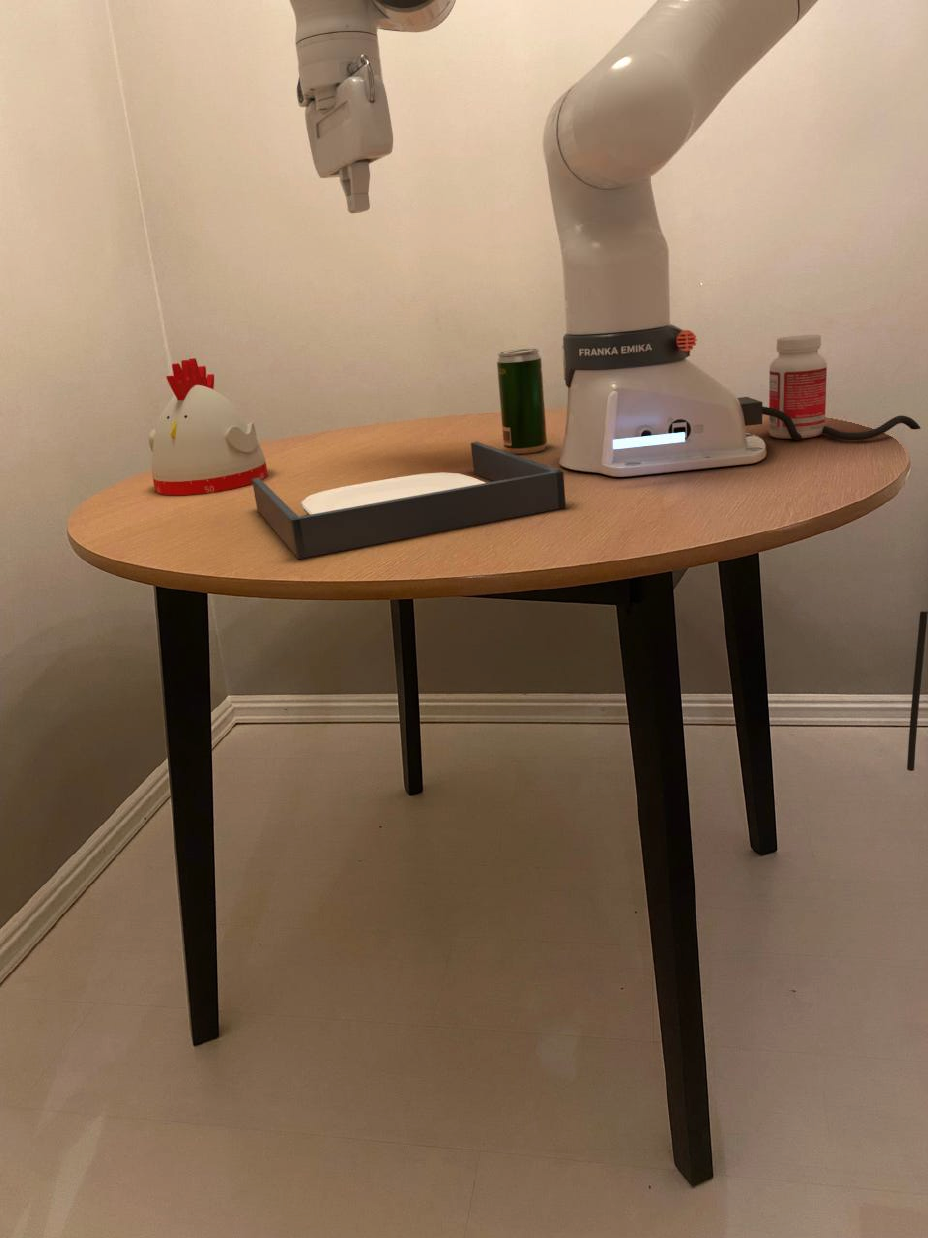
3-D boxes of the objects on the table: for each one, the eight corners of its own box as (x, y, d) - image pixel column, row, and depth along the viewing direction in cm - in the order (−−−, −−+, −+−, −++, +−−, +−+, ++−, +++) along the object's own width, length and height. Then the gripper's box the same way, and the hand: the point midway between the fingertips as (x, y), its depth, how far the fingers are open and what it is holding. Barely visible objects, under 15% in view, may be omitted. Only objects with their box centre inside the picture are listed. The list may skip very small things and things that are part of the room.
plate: (292, 510, 98) (290, 494, 98) (453, 482, 104) (451, 466, 103) (334, 549, 82) (331, 530, 82) (521, 513, 88) (520, 495, 87)
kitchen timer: (131, 495, 114) (103, 369, 109) (198, 470, 126) (175, 356, 121) (227, 494, 110) (203, 362, 104) (287, 468, 121) (268, 349, 116)
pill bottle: (835, 432, 109) (839, 333, 105) (803, 441, 106) (805, 340, 102) (790, 428, 114) (792, 333, 110) (757, 437, 110) (758, 340, 107)
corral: (257, 511, 100) (251, 478, 99) (479, 472, 107) (477, 441, 106) (298, 559, 80) (291, 519, 79) (565, 507, 88) (563, 470, 87)
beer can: (521, 456, 114) (513, 354, 110) (495, 451, 118) (487, 353, 114) (556, 448, 116) (549, 348, 112) (529, 444, 121) (522, 348, 117)
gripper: (398, 48, 93) (415, 199, 98) (345, 91, 111) (361, 217, 116) (337, 50, 91) (357, 204, 96) (292, 93, 109) (311, 221, 114)
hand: (359, 211), depth 106 cm, fingers closed
